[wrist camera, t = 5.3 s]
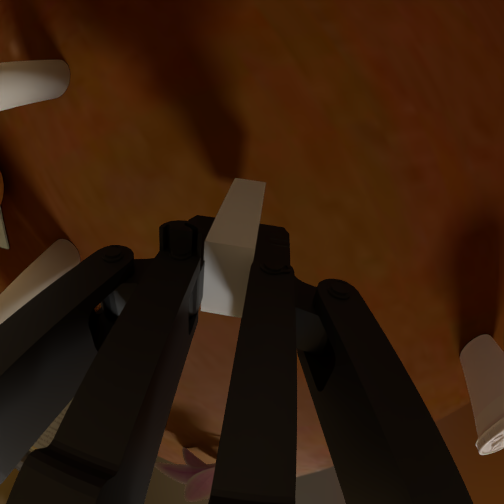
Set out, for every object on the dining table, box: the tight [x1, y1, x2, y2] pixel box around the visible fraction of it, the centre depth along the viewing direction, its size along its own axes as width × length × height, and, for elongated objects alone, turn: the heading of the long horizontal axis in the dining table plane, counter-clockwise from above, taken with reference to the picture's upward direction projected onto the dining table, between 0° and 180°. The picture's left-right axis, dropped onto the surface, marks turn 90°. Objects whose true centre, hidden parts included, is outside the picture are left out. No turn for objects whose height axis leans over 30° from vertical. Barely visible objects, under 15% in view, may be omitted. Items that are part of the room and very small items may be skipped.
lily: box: [154, 447, 216, 502], centre depth 30 cm, size 12×12×10 cm
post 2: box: [0, 239, 80, 324], centre depth 16 cm, size 3×3×9 cm
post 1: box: [0, 60, 70, 111], centre depth 10 cm, size 3×3×9 cm
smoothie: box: [460, 334, 504, 455], centre depth 16 cm, size 6×6×14 cm
